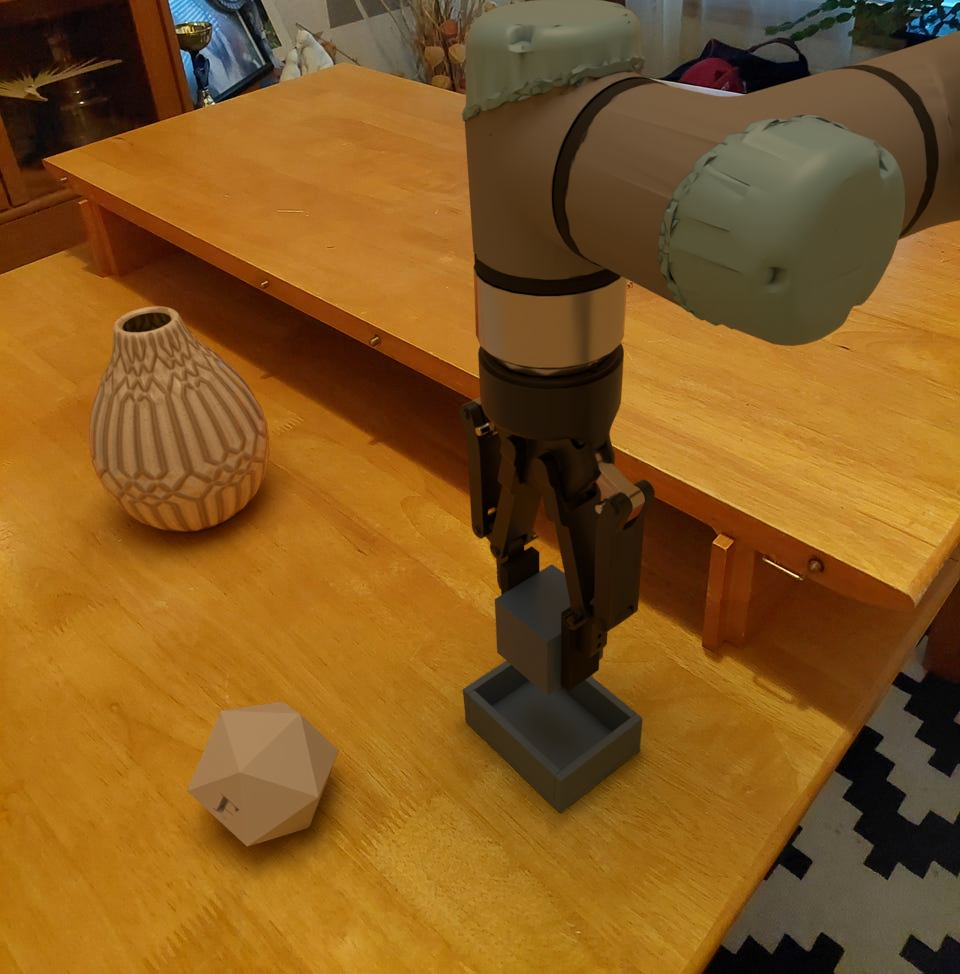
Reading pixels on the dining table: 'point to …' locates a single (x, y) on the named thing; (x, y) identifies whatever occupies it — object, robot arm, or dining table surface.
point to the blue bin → (553, 731)
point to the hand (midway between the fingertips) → (549, 652)
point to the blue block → (534, 627)
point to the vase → (175, 426)
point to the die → (263, 771)
